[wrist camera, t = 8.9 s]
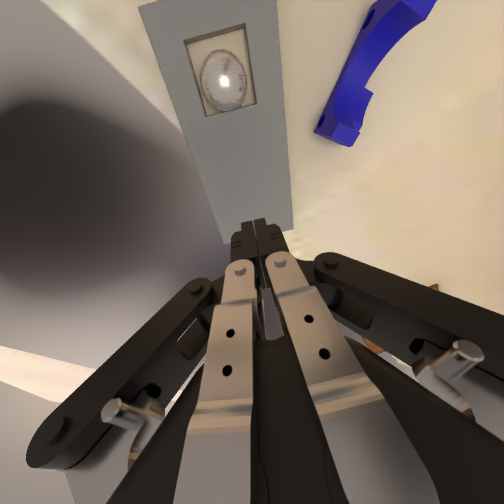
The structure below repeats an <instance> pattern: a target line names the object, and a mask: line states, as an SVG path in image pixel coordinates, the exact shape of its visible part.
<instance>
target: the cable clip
mask: <svg viewBox="0 0 504 504" xmlns="http://www.w3.org/2000/svg"><path fill="white" fill-rule="evenodd" d="M436 1H437V0H378V1H377V2H375V3H374V4H373V5H372V7H371V9H370V11H369V13H368V15H367V17H366V20H365V22H364V24H363V26H362V28H361V31H360V33H359V35H358V37H357V39H356V41H355V44H354V46H353V48H352V50H351V52H350V55H349V57H348V59H347V61H346V63H345V65H344V68H343V70H342V72H341V74H340V76H339V79H338V81H337V83H336V85H335V87H334V89H333V92H332V94H331V96H330V98H329V100H328V103H327V105H326V107H325V109H324V111H323V113H322V116H321V118H320V120H319V122H318V124H317V127H316V129H315V131H314V133H316V134H319V135H321V136H323V137H325V138H327V139H330V140H332V141H334V142H336V143H338V144H341V145H344V146H347V147H350V146H353V144H354V142H355V141H356V139H357V137H358V135H359V134H360V132H359V130H360V128H361V127H362V124H363V118H364V114H365V111H366V108H367V105H368V103H369V101H370V99H371V97H372V95H373V92H371V91H369V90H367V89H366V88H364V87H365V85H366V83H367V81H368V80H369V78H370V76H371V75H372V73H373V72H374V70H375V69H376V67H377V66H378V65H379V63H380V62H381V60H382V59H383V58H384V57H385V55H386V54H387V53H388V52H389V51H390V49H391V48H392V47H393V46H394V45H395V44H396V43H397V42H398V41H399V40H400V39H401V38H402V37H403V36H404V35H405V34H406V33H407V32H408V31H410V30H411V29H412V28H413V27H415V26H416V25H417V24H419V23H421V22H422V21H424V20H426V18H427V16H428V15H429V13H430V11H431V10H432V8H433V6H434V4H435V3H436Z"/></svg>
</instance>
